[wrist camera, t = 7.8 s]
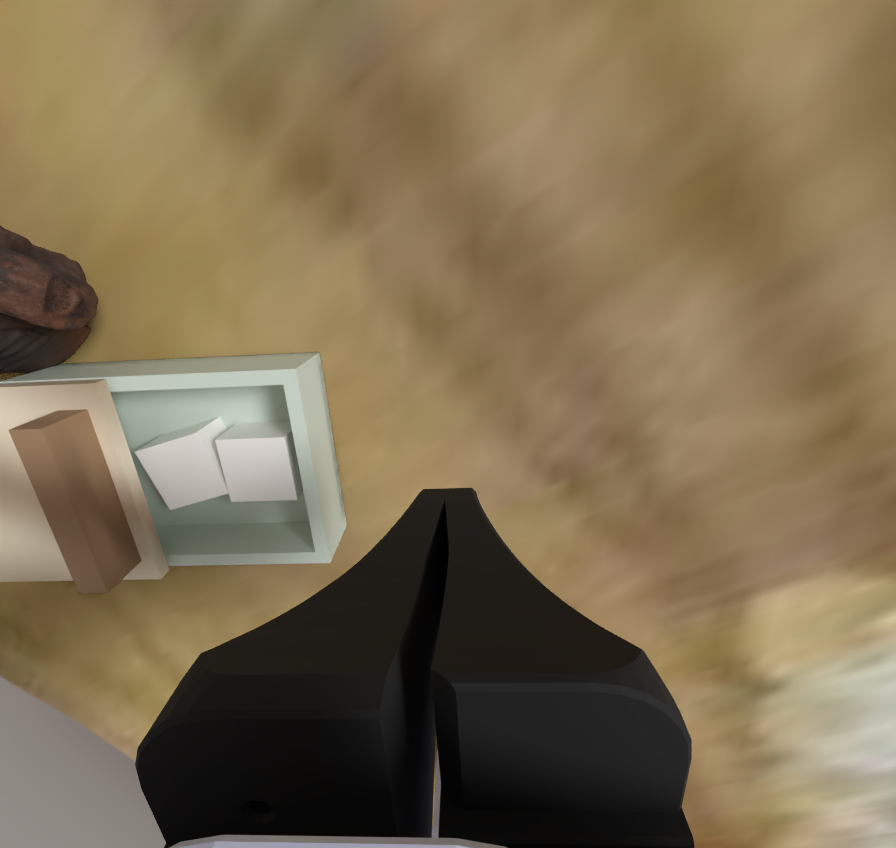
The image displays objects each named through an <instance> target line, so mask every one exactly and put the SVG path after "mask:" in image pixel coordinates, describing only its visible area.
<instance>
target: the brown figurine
mask: <svg viewBox="0 0 896 848" xmlns="http://www.w3.org/2000/svg"><path fill="white" fill-rule="evenodd" d="M97 304H98V297H97V295H96V293H95V291H94V289H93V288H92V287H91V286H90V285H89V284H87V282H86V278H85V274H84V272H83V270H82V268H81V266H80V264H79V263H78V262H76V261H73V260H70V259H69V258H67V257H66V256H65V255H63V254H59V253H56V252H52V251H48V250H46V249H44V248H41V247H37V246H35V245H33V244H32V243H31V242H30V241H29V240H28V239H27V238H25V237H23V236H21V235H19V234H16V233H14V232H11V231H9V230H6V229H4V228H3V227H1V226H0V373H6V372H16V373H32V372H35V371H39V370H42V369H46V368H49V367H52V366H54V365H56V364H58V363H61V362H63V361H64V360H65V359H67V358H68V357H70V356H71V355H72V354H73V353H74V352H75V351H76V349H77V348H78V347H79V346H80V345H81V344H82V343H83V342H84V340H85V339H86V338H87V336H88V335H89V333H90V328H89V327H88V326H87V325H86V324H87V323H88V322H89V321H90V320H92V319H93V318H94V317H95V315H96V308H97Z"/></svg>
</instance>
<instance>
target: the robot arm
mask: <svg viewBox="0 0 896 848" xmlns="http://www.w3.org/2000/svg"><path fill="white" fill-rule="evenodd" d="M435 736H437V747H438V748H437V765H436V782H435V799H434V816H433V826H432V815H433V786H434V761H435ZM690 763H691V738H690V735H689V733H688V731H687V728H686V725H685V723H684V720H683V718H682V715H681V713H680V711H679V709H678V707H677V705H676V703H675V701H674V699H673V697H672V696H671V694H670V692H669V691H668V689H667V687H666V686H665V684H664V682H663V681H662V679H661V677H660V676H659V674H658V673H657V671H656V669H655V668H654V666H653V665H652V663H651V662H650V660H649V659H648V657H647V655H646V654H645V652H644V651H643V650H642V649H640V648H638V647H637V646H635V645H633V644H631V643H629V642H628V641H626V640H624V639H622V638H620V637H618V636H617V635H615V634H613V633H611V632H609V631H608V630H606V629H604V628H602V627H600V626H599V625H597V624H596V623H594V622H592V621H591V620H589V619H588V618H586V617H585V616H583V615H582V614H580V613H579V612H577V611H576V610H574V609H573V608H572V607H570V606H569V605H567V604H566V603H565V602H564V601H562V600H561V599H560V598H559V597H557V596H556V595H555V594H554V593H552V592H551V591H550V590H549V589H547V588H546V587H545V586H544V585H543V584H542V583H541V582H540V581H539V580H537V579H536V578H535V577H534V576H533V575H532V574H531V573H530V572H529V571H528V570H527V569H526V568H525V567H524V566H523V564H522V563H521V562H520V561H519V560H518V559H517V558H516V557H515V555H514V554H513V553H512V552H511V551H510V549H509V548H508V547H507V545H506V544H505V543H504V542H503V540H502V539H501V537H500V536H499V535H498V533H497V532H496V530H495V529H494V527H493V526H492V524H491V523H490V521H489V519H488V518H487V516H486V514H485V512H484V511H483V509H482V507H481V505H480V502H479V500H478V497H477V494H476V491H474V490H473V489H472V488H451V489H423V490H422V491H421V492H420V493H419V494H418V496H417V497H416V498H415V500H414V501H413V503H412V504H411V505H410V506H409V508H408V509H407V510H406V512H405V513H404V514H403V515H402V517H401V518H400V519H399V520H398V521H397V523H396V524H395V525H394V526H393V527H392V528H391V530H390V531H389V532H388V533H387V534H386V535H385V536H384V537H383V538H382V539H381V540H380V541H379V542H378V543H377V544H376V545H375V547H374V548H373V549H372V550H371V551H370V552H369V553H368V554H367V555H365V556H364V557H363V558H362V559H361V560H360V561H359V562H358V563H357V564H355V565H354V566H353V567H352V568H350V569H349V570H348V571H347V572H346V573H344V574H343V575H342V576H340V577H339V578H338V579H336V580H335V581H334V582H332V583H331V584H329V585H328V586H326V587H325V588H323V589H322V590H320V591H319V592H318V593H316V594H315V595H313V596H312V597H310V598H309V599H307V600H306V601H304V602H303V603H301V604H299V605H297V606H296V607H294V608H292V609H291V610H289V611H287V612H286V613H284V614H282V615H280V616H278V617H277V618H275V619H273V620H271V621H269V622H267V623H265V624H264V625H262V626H260V627H258V628H256V629H254V630H252V631H249V632H247V633H245V634H243V635H241V636H239V637H236V638H234V639H232V640H230V641H228V642H226V643H223V644H221V645H219V646H217V647H215V648H213V649H210V650H208V651H205V652H203V653H201V654H200V655H199V657H198V658H197V659H196V661H195V662H194V664H193V665H192V666H191V668H190V669H189V670H188V672H187V673H186V674H185V676H184V677H183V679H182V680H181V682H180V683H179V685H178V686H177V688H176V689H175V691H174V693H173V694H172V696H171V697H170V699H169V700H168V702H167V703H166V705H165V707H164V708H163V710H162V711H161V713H160V714H159V716H158V717H157V719H156V721H155V722H154V724H153V725H152V727H151V728H150V730H149V731H148V733H147V735H146V736H145V738H144V739H143V741H142V742H141V744H140V745H139V747H138V750H137V757H136V764H135V766H136V770H137V773H138V777H139V781H140V785H141V789H142V791H143V793H144V795H145V797H146V800H147V802H148V804H149V806H150V808H151V810H152V812H153V815H154V817H155V819H156V821H157V824H158V826H159V828H160V830H161V832H162V834H163V837H164V839H165V841H166V845H165V847H164V848H694V841H693V836H692V834H691V831H690V828H689V826H688V823H687V821H686V818H685V815H684V813H683V810H682V808H681V806H682V802H683V797H684V792H685V787H686V782H687V777H688V773H689V768H690Z"/></svg>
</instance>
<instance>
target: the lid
mask: <svg viewBox="0 0 896 848" xmlns="http://www.w3.org/2000/svg"><path fill="white" fill-rule="evenodd" d="M168 571H169V567H168V564H167V561H166V558H165V555H164V552H163V549H162V546H161V543H160V540H159V537H158V534H157V531H156V528H155V525H154V522H153V519H152V516H151V513H150V510H149V507H148V504H147V501H146V498H145V495H144V492H143V489H142V486H141V483H140V480H139V477H138V474H137V471H136V468H135V465H134V462H133V459H132V456H131V453H130V450H129V447H128V444H127V441H126V438H125V435H124V432H123V429H122V426H121V423H120V420H119V417H118V414H117V411H116V408H115V405H114V402H113V399H112V396H111V393H110V390H109V387H108V384H107V381H106V379H94V380H71V381H47V382H24V383H1V384H0V582H30V581H74V584H75V586H76V588H77V591H78V593H79V594H97V593H109V592H110V591H111V590H112V589H113V588H114V587H115V586H116V585H117V584H118V583H119V582H120V581H121V580H144V579H162V578H163V577H164V576H165V575H166V574H167V572H168Z"/></svg>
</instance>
